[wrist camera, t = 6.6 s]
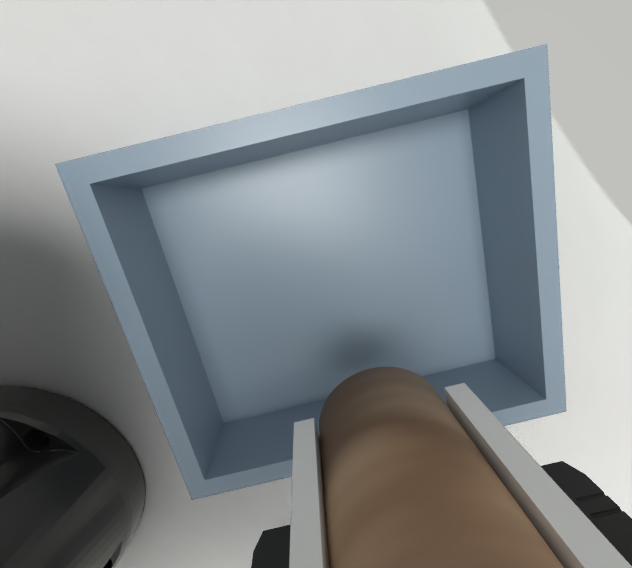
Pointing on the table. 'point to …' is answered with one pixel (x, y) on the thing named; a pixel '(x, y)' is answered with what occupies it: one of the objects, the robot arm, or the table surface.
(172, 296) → the tote
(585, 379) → the table surface
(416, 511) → the walnut cylinder
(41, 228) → the table surface
